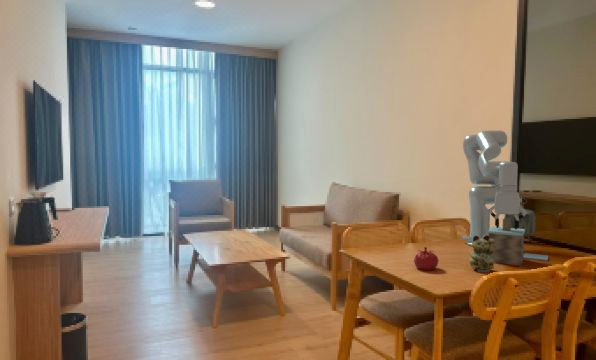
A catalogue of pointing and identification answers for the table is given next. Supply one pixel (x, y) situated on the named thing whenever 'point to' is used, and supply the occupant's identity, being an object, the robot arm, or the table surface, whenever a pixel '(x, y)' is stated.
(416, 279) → the table surface
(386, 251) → the table surface
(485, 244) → the decorative figurine
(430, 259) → the pomegranate
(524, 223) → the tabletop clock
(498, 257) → the walnut box
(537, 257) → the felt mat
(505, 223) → the lid
